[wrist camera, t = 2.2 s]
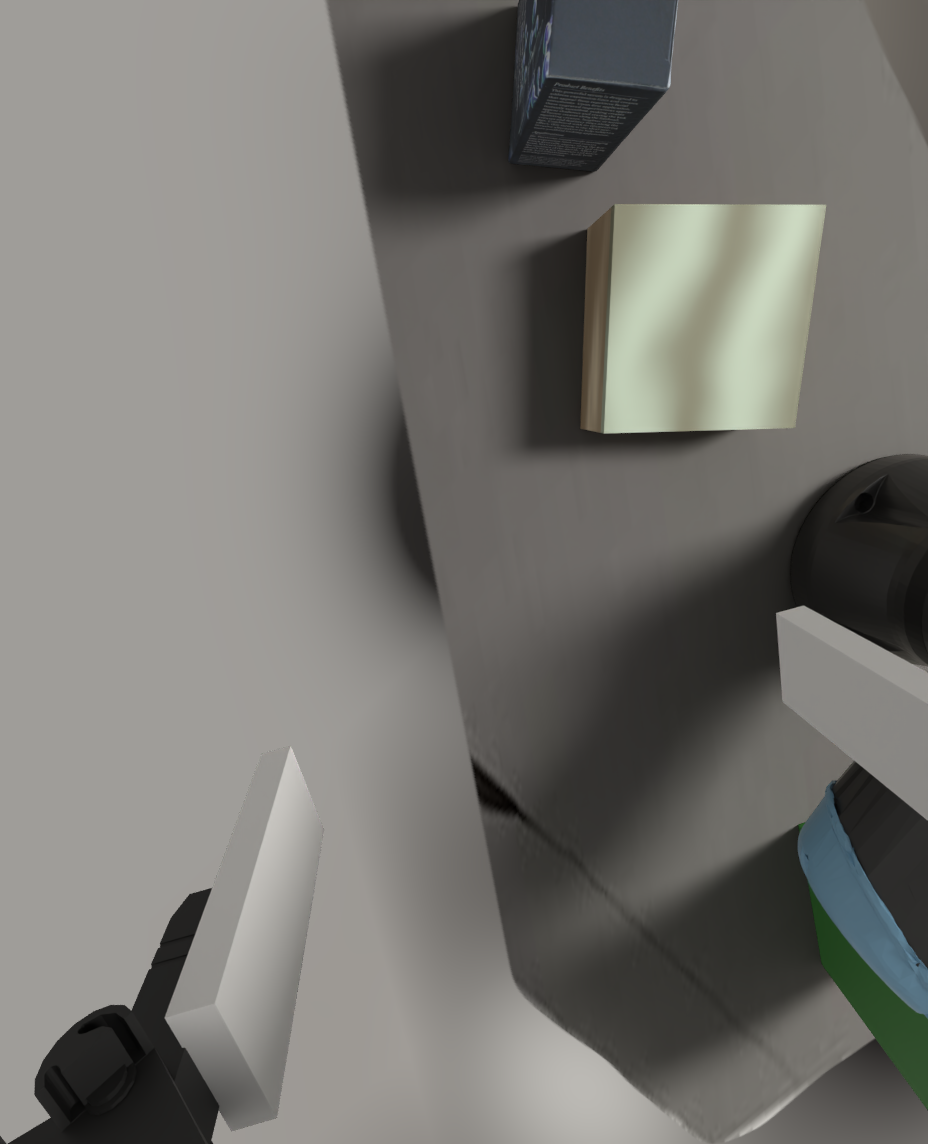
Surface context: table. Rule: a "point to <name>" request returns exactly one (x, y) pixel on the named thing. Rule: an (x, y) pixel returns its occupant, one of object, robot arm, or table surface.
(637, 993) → the table surface
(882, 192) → the table surface
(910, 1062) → the hardback book
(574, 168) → the box
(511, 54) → the table surface
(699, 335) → the stand
